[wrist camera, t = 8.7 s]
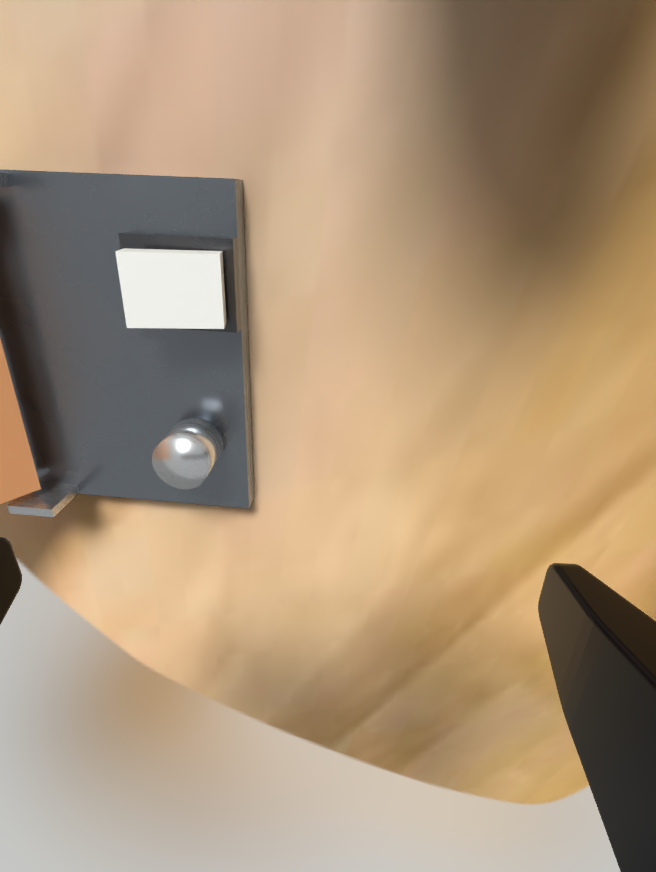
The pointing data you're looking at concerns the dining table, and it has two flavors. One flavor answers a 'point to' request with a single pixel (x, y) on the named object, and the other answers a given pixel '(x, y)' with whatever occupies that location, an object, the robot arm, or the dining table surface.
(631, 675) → the robot arm
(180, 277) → the block
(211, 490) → the panel
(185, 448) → the metal button
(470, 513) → the dining table surface
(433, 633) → the dining table surface
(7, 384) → the orange lever
